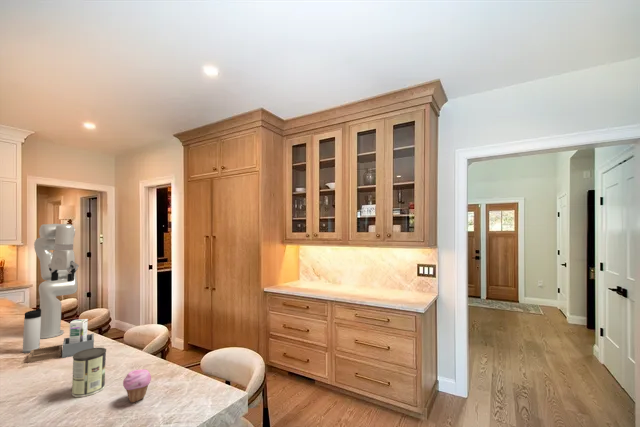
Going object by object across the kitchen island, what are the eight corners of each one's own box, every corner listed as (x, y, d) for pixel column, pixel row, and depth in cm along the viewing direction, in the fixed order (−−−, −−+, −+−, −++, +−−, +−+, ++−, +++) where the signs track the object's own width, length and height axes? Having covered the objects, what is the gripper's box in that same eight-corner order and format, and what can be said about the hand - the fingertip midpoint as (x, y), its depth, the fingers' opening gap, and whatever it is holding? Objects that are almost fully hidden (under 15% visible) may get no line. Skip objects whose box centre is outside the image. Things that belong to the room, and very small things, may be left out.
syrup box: (68, 352, 152) (69, 322, 153) (73, 348, 157) (75, 319, 158) (81, 351, 153) (82, 321, 154) (87, 346, 159) (88, 318, 160)
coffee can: (87, 382, 123) (89, 346, 124) (111, 384, 122) (112, 347, 123) (63, 396, 113) (65, 357, 114) (89, 398, 112) (91, 358, 113)
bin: (63, 350, 156) (64, 338, 157) (93, 345, 164) (93, 333, 164) (62, 358, 147) (62, 345, 147) (93, 352, 154) (93, 340, 154)
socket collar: (31, 355, 151) (31, 349, 151) (62, 349, 157) (62, 344, 158) (27, 363, 141) (27, 357, 141) (60, 357, 148) (60, 351, 148)
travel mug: (43, 348, 159) (45, 309, 160) (30, 353, 152) (32, 312, 153) (32, 348, 159) (34, 308, 161) (18, 353, 153) (21, 312, 154)
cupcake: (119, 398, 112) (120, 370, 112) (146, 389, 118) (147, 363, 118) (126, 408, 106) (127, 378, 106) (153, 399, 112) (154, 370, 112)
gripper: (42, 248, 160) (40, 281, 159) (71, 248, 158) (70, 282, 157) (56, 247, 168) (55, 279, 167) (84, 247, 165) (83, 280, 164)
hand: (62, 280), depth 162 cm, fingers open, 9 cm apart
